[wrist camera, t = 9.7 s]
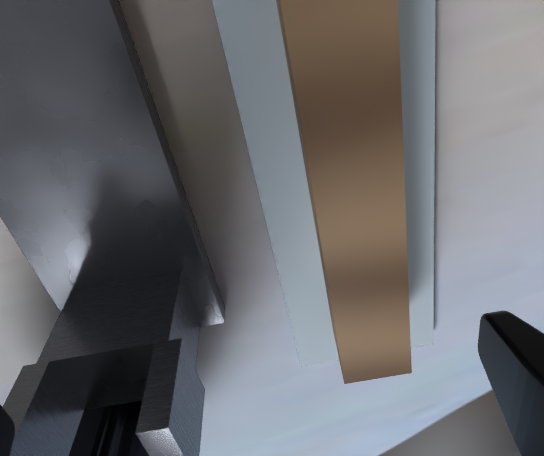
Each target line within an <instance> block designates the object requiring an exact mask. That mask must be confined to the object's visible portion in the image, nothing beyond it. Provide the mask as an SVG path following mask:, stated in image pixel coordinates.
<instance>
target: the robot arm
mask: <svg viewBox="0 0 544 456" xmlns="http://www.w3.org/2000/svg"><path fill="white" fill-rule="evenodd" d="M478 352H479V356H480V359H481V362H482V364H483V367H484V369H485V371H486V374H487V376H488V379H489V381H490V384H491V386H492V389H493V391H494V393H495V396H496V399H497V401H498V403H499V406H500V408H501V411H502V413H503V416H504V418H505V421H506V423H507V425H508V428H509V430H510V433H511V435H512V437H513V439H514V442H515V444H516V446H517V448H518V450H519V451H520V454H521V456H544V333H542V332H541V331H539V330H537V329H536V328H534V327H533V326H531V325H529V324H528V323H526V322H525V321H523V320H521V319H520V318H518V317H517V316H515V315H513V314H512V313H510V312H508V311H498V312H492V313H486V314H484V315H483V316H482V317H481V320H480V329H479V339H478ZM141 405H142V400H141V401H135V402H129V403H124V404H118V405H112V406H106V407H100V408H94V409H88V410H84V411H83V414H82V417H81V420H80V423H79V426H78V429H77V432H76V435H75V438H74V441H73V444H72V447H71V450H70V453H69V456H149V454H148V453H147V451H146V449H145V448H144V446H143V445H142V443H141V442H140V440H139V438H138V437H137V435H136V434H135V433H136V428H137V424H138V419H139V414H140V410H141ZM14 436H15V425H14V422H13V420H12V418H11V417H10V416H9V415H8V413H7V412H6V411H5V410H4V409H3V407H2V406H1V405H0V456H10V454H11V450H12V445H13V440H14Z"/></svg>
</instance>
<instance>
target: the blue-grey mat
mask: <svg viewBox="0 0 544 456" xmlns="http://www.w3.org/2000/svg"><path fill="white" fill-rule="evenodd" d="M212 3H213V8H214V12H215V16H216V20H217V24H218V28H219V32H220V36H221V40H222V45H223V49H224V53H225V57H226V61H227V65H228V69H229V73H230V77H231V82H232V86H233V90H234V94H235V98H236V102H237V106H238V110H239V114H240V119H241V123H242V127H243V131H244V135H245V139H246V143H247V147H248V151H249V156H250V160H251V164H252V168H253V172H254V176H255V180H256V184H257V188H258V193H259V197H260V201H261V205H262V209H263V213H264V217H265V221H266V225H267V230H268V234H269V238H270V242H271V246H272V250H273V254H274V258H275V262H276V267H277V271H278V275H279V279H280V283H281V287H282V291H283V295H284V299H285V304H286V308H287V312H288V316H289V320H290V324H291V328H292V332H293V336H294V341H295V345H296V349H297V353H298V357H299V361H300V365H301V367H302V366H308V365H313V364H319V363H325V362H331V361H337V360H339V356H338V352H337V347H336V342H335V338H334V333H333V327H332V321H331V316H330V310H329V304H328V298H327V293H326V287H325V281H324V275H323V269H322V264H321V258H320V252H319V246H318V240H317V235H316V229H315V223H314V217H313V211H312V206H311V200H310V194H309V188H308V182H307V177H306V171H305V165H304V159H303V153H302V148H301V142H300V136H299V130H298V124H297V119H296V113H295V107H294V101H293V95H292V90H291V84H290V78H289V72H288V66H287V61H286V55H285V49H284V43H283V37H282V32H281V26H280V20H279V14H278V8H277V3H276V0H212ZM398 13H399V40H400V68H401V95H402V123H403V150H404V177H405V205H406V232H407V259H408V287H409V314H410V342H411V348H414V347H420V346H425V345H431V344H433V320H434V158H435V0H398Z"/></svg>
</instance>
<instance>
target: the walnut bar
mask: <svg viewBox="0 0 544 456" xmlns="http://www.w3.org/2000/svg"><path fill="white" fill-rule="evenodd" d="M276 3H277V8H278V14H279V20H280V26H281V32H282V37H283V43H284V49H285V55H286V61H287V66H288V72H289V78H290V84H291V90H292V95H293V101H294V107H295V113H296V119H297V124H298V130H299V136H300V142H301V148H302V153H303V159H304V165H305V171H306V177H307V182H308V188H309V194H310V200H311V206H312V211H313V217H314V223H315V229H316V235H317V240H318V246H319V252H320V258H321V264H322V269H323V275H324V281H325V287H326V293H327V298H328V304H329V310H330V316H331V321H332V327H333V333H334V338H335V342H336V347H337V352H338V356H339V361H340V365H341V370H342V374H343V379H344V384H347V383H353V382H359V381H365V380H371V379H377V378H383V377H389V376H395V375H401V374H407V373H412V369H411V342H410V314H409V287H408V259H407V232H406V205H405V177H404V150H403V123H402V95H401V68H400V40H399V13H398V0H276Z"/></svg>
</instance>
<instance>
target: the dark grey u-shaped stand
mask: <svg viewBox="0 0 544 456" xmlns="http://www.w3.org/2000/svg"><path fill="white" fill-rule="evenodd" d="M0 217H1V219H2V220H3V222H4V223H5V225H6V226H7V228H8V230H9V231H10V233H11V234H12V236H13V238H14V239H15V241H16V242H17V244H18V245H19V247H20V249H21V250H22V252H23V253H24V255H25V257H26V258H27V260H28V261H29V263H30V265H31V266H32V268H33V269H34V271H35V272H36V274H37V276H38V277H39V279H40V280H41V282H42V284H43V285H44V287H45V288H46V290H47V291H48V293H49V295H50V296H51V298H52V299H53V301H54V303H55V304H56V306H57V307H58V309H59V310H60V312H61V313H60V315H59V317H58V319H57V322H56V324H55V326H54V328H53V330H52V332H51V334H50V336H49V338H48V340H47V342H46V345H45V347H44V349H43V351H42V353H41V355H40V357H39V359H38V361H37V363H36V364H32V365H27V366H23V368H22V370H21V372H20V374H19V376H18V378H17V380H16V382H15V384H14V386H13V388H12V390H11V392H10V393H9V395H8V397H7V399H6V401H5V403H4V405H3V409H4V410H5V411H6V412H7V413H8V415H9V416H10V417H11V418H12V420H13V422H14V425H15V436H14V440H13V445H12V450H11V454H10V456H69V453H70V450H71V447H72V444H73V441H74V438H75V435H76V432H77V429H78V426H79V423H80V420H81V417H82V414H83V411H84V410H88V409H94V408H100V407H106V406H112V405H118V404H124V403H129V402H135V401H141V400H142V405H141V410H140V414H139V419H138V424H137V428H136V433H135V434H136V435H137V437H138V438H139V440H140V442H141V443H142V445H143V446H144V448H145V449H146V451H147V453H148V454H149V456H199V452H200V441H201V429H202V417H203V406H204V394H205V389H204V387H203V384H202V382H201V380H200V378H199V375H198V373H197V371H196V369H195V366H196V357H197V348H198V339H199V331H200V327H203V326H209V325H214V324H220V323H224V319H225V306H224V303H223V301H222V298H221V295H220V292H219V289H218V286H217V283H216V280H215V278H214V275H213V272H212V269H211V266H210V263H209V260H208V257H207V255H206V252H205V249H204V246H203V243H202V240H201V237H200V234H199V232H198V229H197V226H196V223H195V220H194V217H193V214H192V211H191V208H190V206H189V203H188V200H187V197H186V194H185V191H184V188H183V185H182V183H181V180H180V177H179V174H178V171H177V168H176V165H175V162H174V160H173V157H172V154H171V151H170V148H169V145H168V142H167V139H166V137H165V134H164V131H163V128H162V125H161V122H160V119H159V116H158V114H157V111H156V108H155V105H154V102H153V99H152V96H151V93H150V91H149V88H148V85H147V82H146V79H145V76H144V73H143V70H142V68H141V65H140V62H139V59H138V56H137V53H136V50H135V47H134V44H133V42H132V39H131V36H130V33H129V30H128V27H127V24H126V21H125V19H124V16H123V13H122V10H121V7H120V4H119V1H118V0H0Z"/></svg>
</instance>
